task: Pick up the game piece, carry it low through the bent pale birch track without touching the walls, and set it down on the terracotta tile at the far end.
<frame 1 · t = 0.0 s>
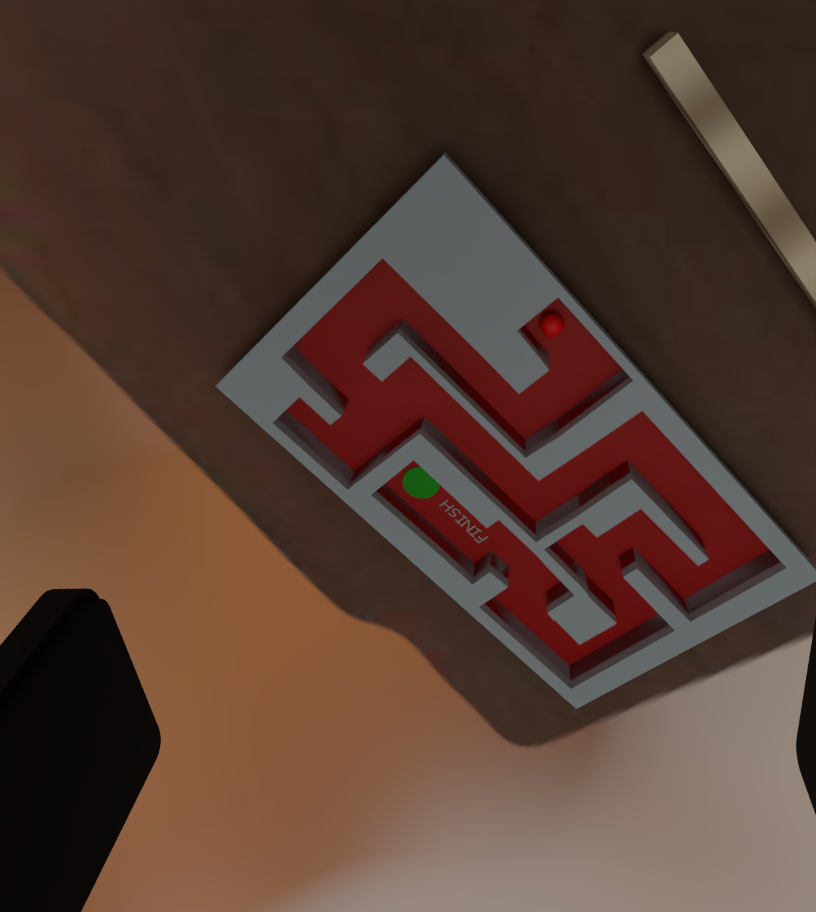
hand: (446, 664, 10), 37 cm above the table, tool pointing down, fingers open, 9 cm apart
maze game: (522, 456, 52), on the table
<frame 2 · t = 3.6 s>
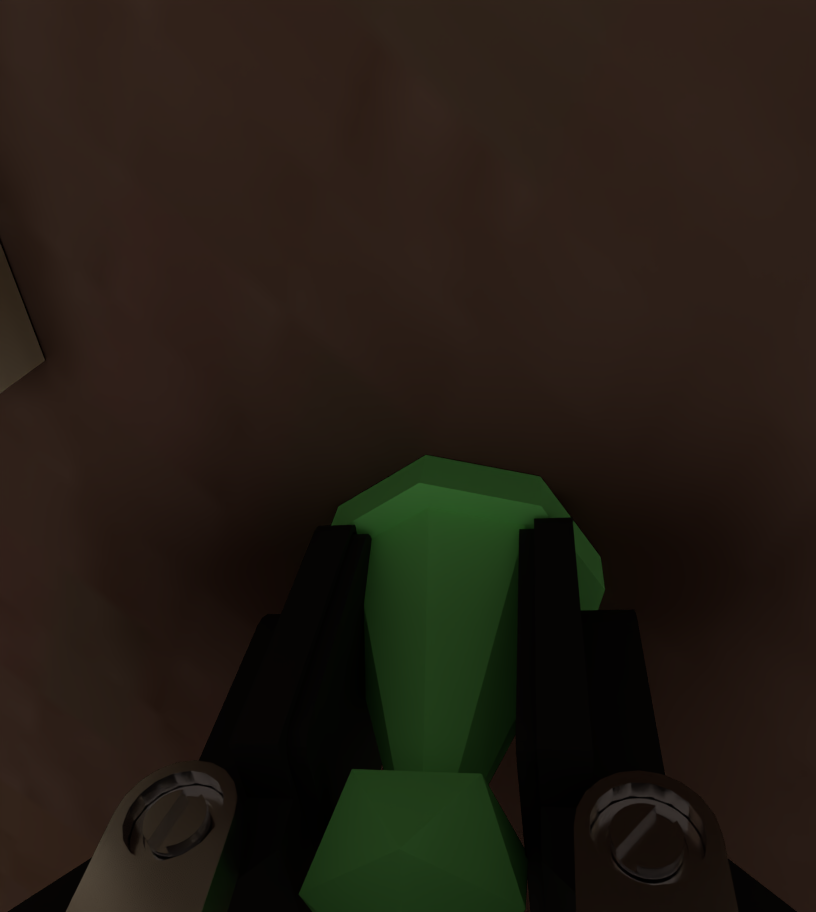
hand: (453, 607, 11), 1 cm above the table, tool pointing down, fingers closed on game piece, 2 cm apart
game piece: (460, 566, 12), on the table, touching gripper
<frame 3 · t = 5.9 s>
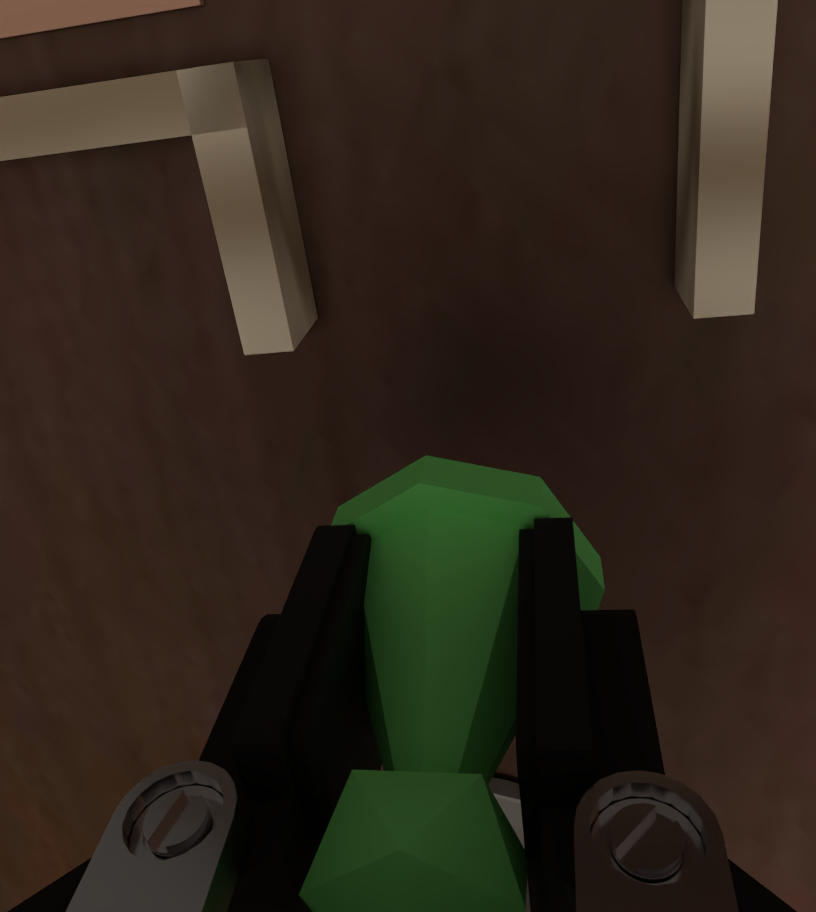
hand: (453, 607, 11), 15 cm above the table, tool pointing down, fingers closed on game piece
game piece: (459, 566, 12), point 14 cm above the table, touching gripper
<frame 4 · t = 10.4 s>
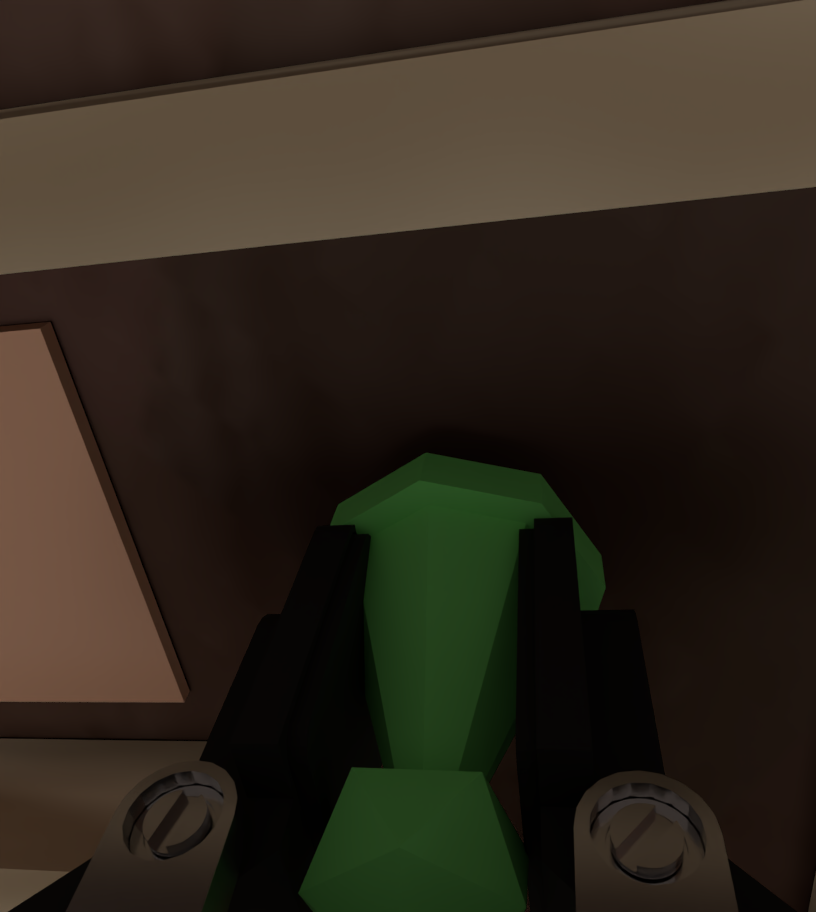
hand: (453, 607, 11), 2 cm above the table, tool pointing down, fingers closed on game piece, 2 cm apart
game piece: (460, 564, 12), point 1 cm above the table, touching gripper
bent track: (520, 516, 13), on the table
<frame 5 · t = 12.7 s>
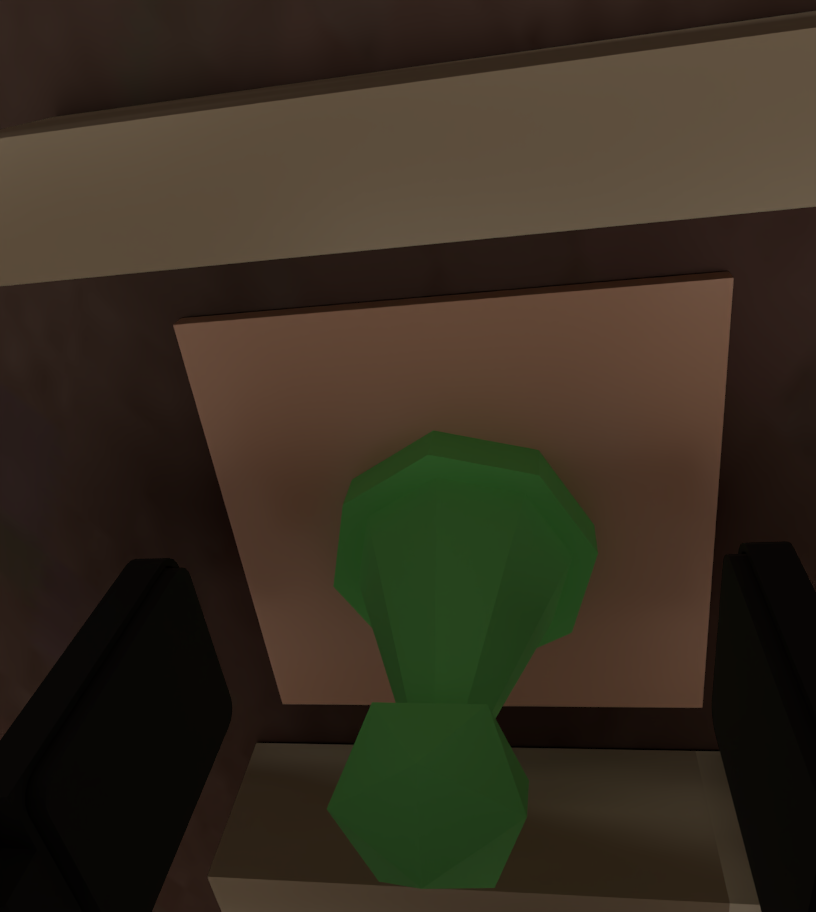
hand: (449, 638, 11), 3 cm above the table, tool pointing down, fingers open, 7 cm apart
game piece: (464, 535, 13), resting on bent track
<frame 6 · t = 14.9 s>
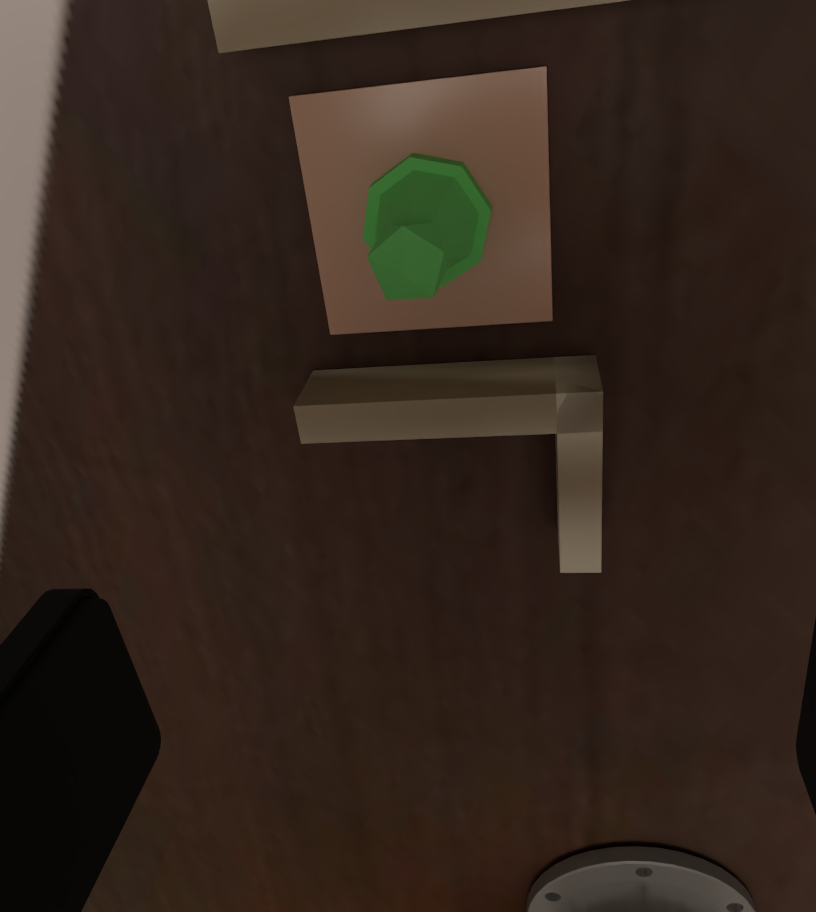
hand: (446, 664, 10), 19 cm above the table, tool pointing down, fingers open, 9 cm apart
game piece: (428, 217, 26), resting on bent track
bent track: (777, 181, 24), on the table
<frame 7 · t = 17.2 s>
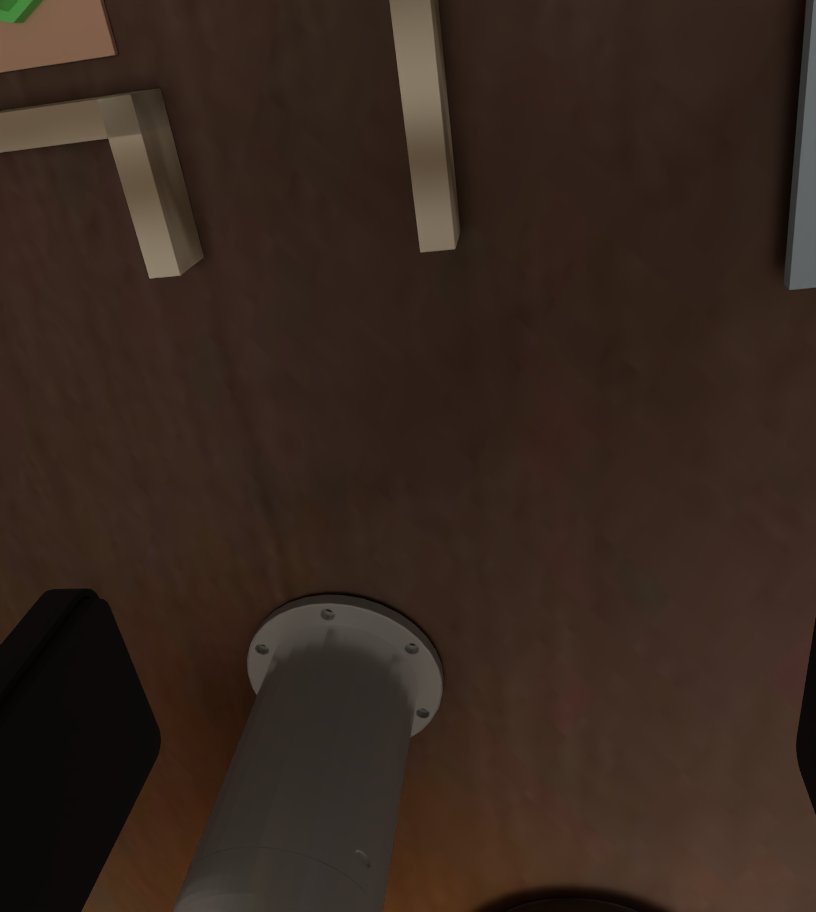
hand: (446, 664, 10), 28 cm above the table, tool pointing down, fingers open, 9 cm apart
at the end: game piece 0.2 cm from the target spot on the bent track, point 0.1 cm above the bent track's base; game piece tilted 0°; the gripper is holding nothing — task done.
